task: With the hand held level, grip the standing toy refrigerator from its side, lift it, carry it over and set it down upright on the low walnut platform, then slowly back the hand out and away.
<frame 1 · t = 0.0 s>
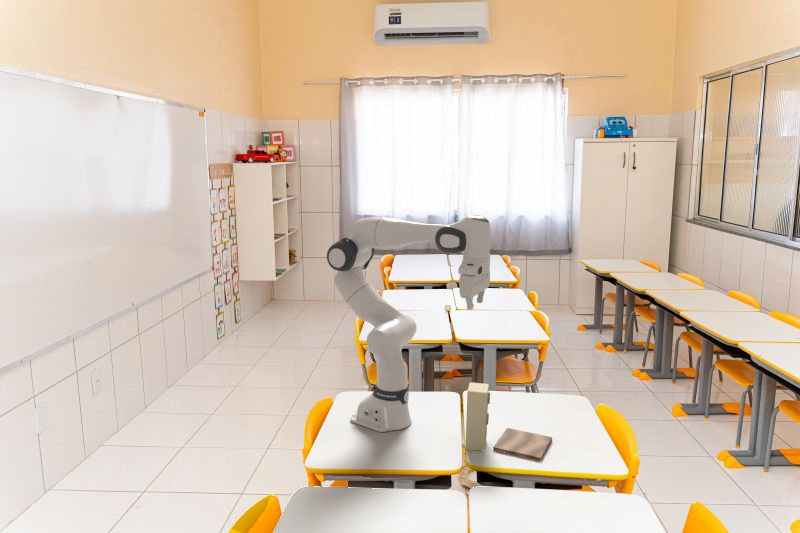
hand: (475, 305, 210), 48 cm above the table, tool pointing down, fingers open, 8 cm apart
toy refrigerator: (477, 445, 215), on the table
walnut platform: (523, 445, 215), on the table
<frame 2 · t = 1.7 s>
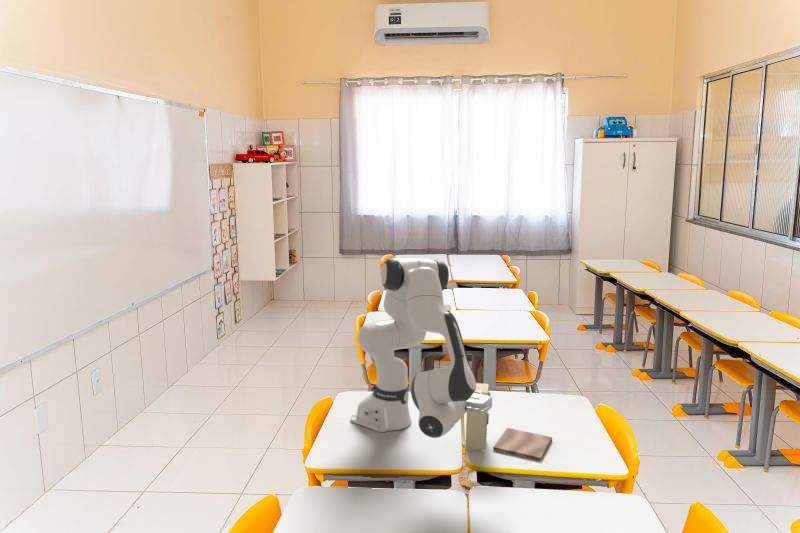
hand: (466, 390, 199), 25 cm above the table, tool horizontal, fingers open, 8 cm apart
nothing on the table moved.
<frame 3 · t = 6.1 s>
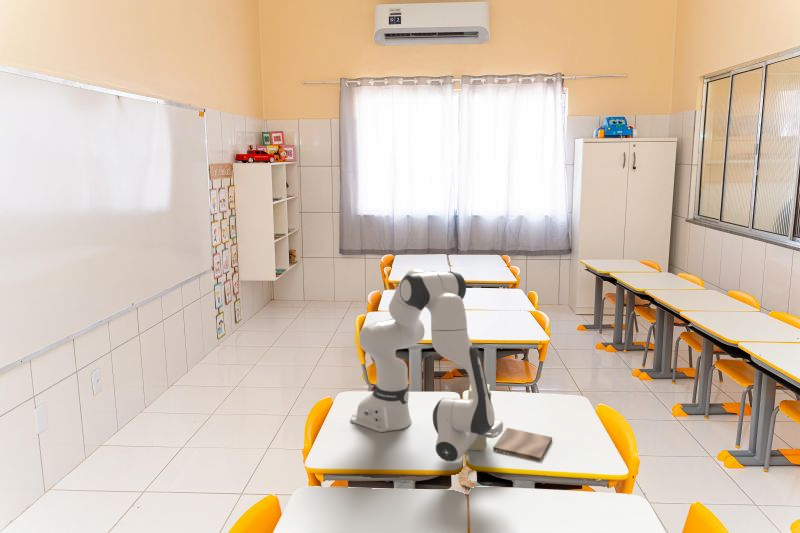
hand: (478, 414, 214), 11 cm above the table, tool horizontal, fingers closed on toy refrigerator, 7 cm apart
toy refrigerator: (477, 445, 215), on the table, touching gripper
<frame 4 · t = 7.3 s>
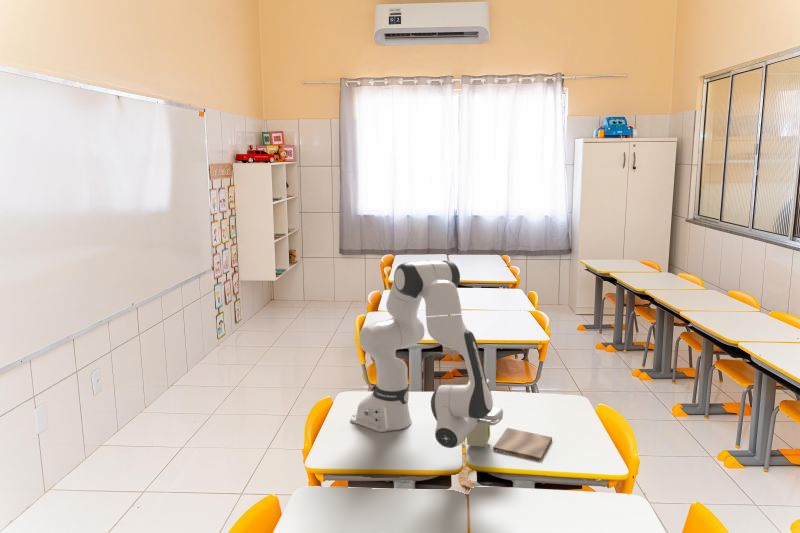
hand: (478, 401, 213), 15 cm above the table, tool horizontal, fingers closed on toy refrigerator, 7 cm apart
toy refrigerator: (479, 441, 215), point 1 cm above the table, touching gripper
when the fingers open (16 cm above the table, at t = 11.7 s): toy refrigerator moves 2 cm, resting on walnut platform.
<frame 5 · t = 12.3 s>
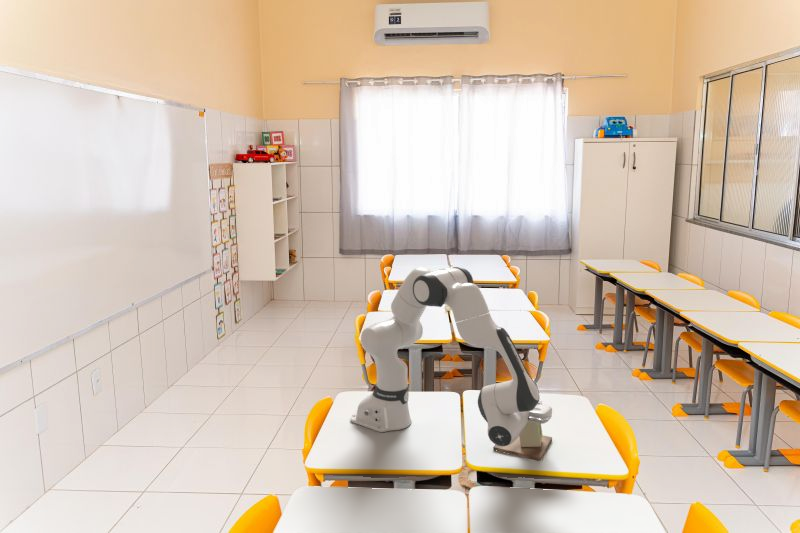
hand: (525, 400, 213), 16 cm above the table, tool horizontal, fingers open, 8 cm apart
toy refrigerator: (533, 442, 214), point 2 cm above the table, touching gripper, walnut platform
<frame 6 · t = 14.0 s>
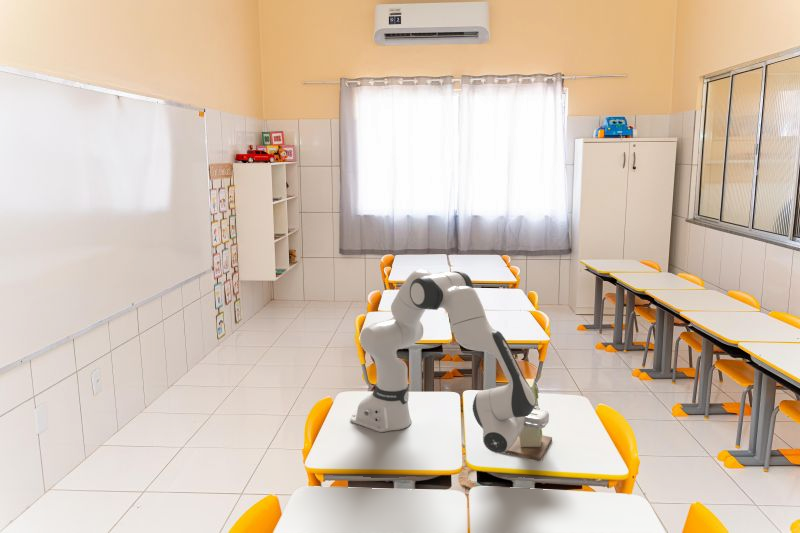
hand: (522, 405, 209), 16 cm above the table, tool horizontal, fingers open, 8 cm apart
toy refrigerator: (533, 442, 214), point 2 cm above the table, touching walnut platform
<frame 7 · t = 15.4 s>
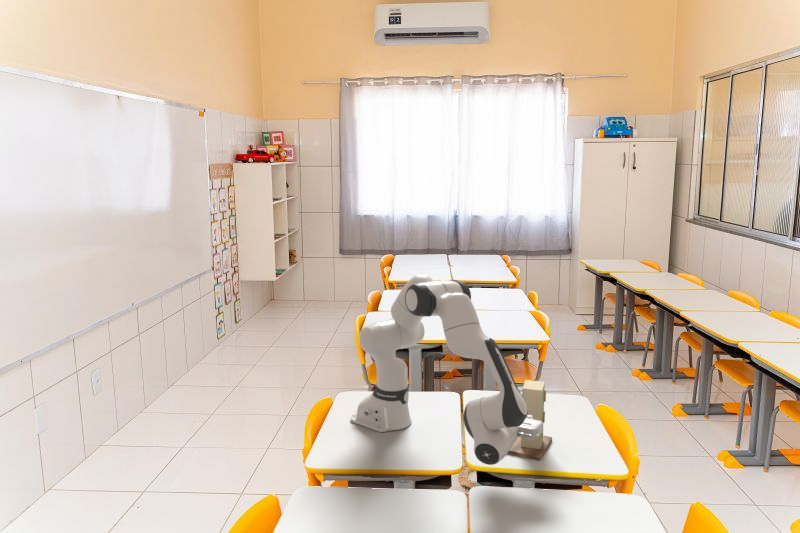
hand: (515, 414, 202), 16 cm above the table, tool horizontal, fingers open, 8 cm apart
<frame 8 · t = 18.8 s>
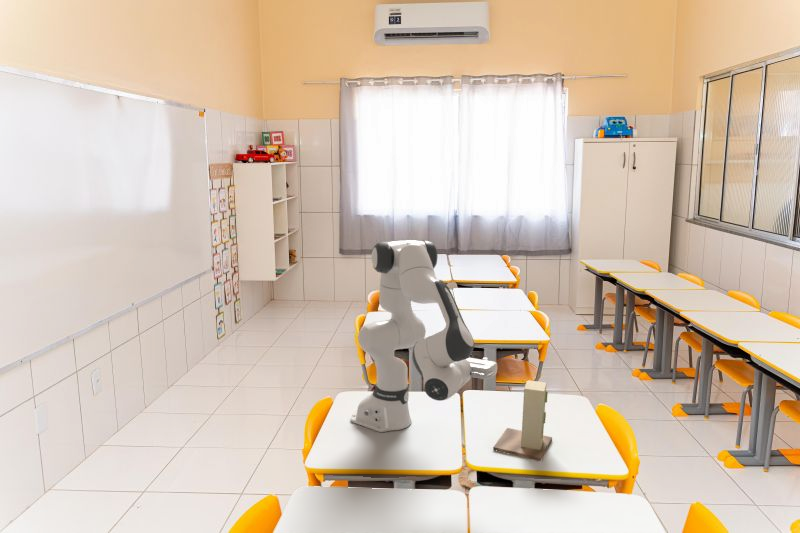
hand: (472, 357, 201), 34 cm above the table, tool horizontal, fingers open, 8 cm apart
at the end: toy refrigerator inside the target area (3.4 cm from its centre), point 1.0 cm above the table; toy refrigerator tilted 0°; the gripper is holding nothing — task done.
